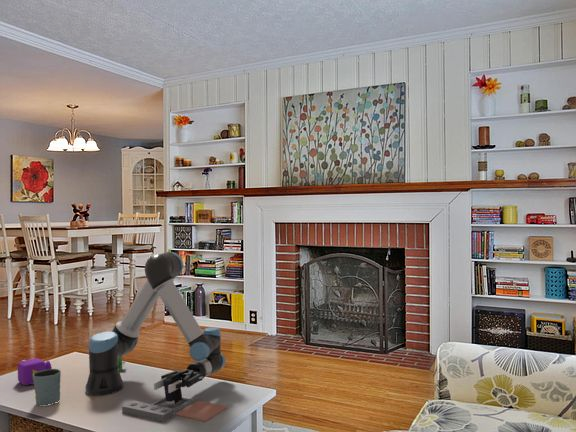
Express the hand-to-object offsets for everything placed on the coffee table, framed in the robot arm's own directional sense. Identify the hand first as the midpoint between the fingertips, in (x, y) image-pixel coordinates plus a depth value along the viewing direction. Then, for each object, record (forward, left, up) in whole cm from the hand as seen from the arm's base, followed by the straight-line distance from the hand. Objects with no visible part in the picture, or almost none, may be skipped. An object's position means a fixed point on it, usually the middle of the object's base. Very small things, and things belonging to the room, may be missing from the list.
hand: (161, 387), depth 187 cm
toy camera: (-76, +2, -9) cm, 77 cm away
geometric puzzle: (-53, +29, -9) cm, 61 cm away
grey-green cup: (-48, -13, -9) cm, 51 cm away
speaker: (+1, +5, -7) cm, 8 cm away
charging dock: (-2, +1, -8) cm, 9 cm away
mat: (+15, +5, -8) cm, 18 cm away
